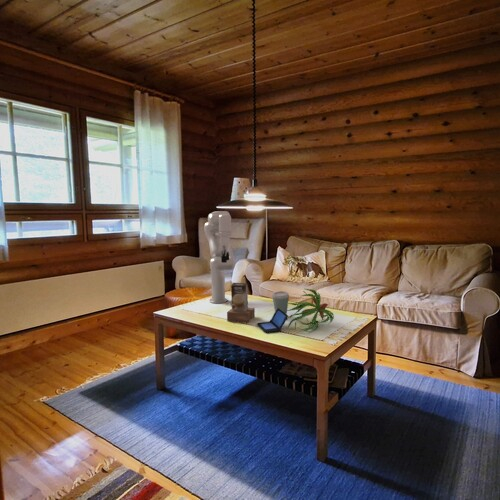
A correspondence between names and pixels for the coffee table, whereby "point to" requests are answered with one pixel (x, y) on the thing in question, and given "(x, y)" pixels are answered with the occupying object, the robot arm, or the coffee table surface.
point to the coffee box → (239, 297)
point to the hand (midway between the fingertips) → (225, 261)
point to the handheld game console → (274, 322)
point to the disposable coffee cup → (281, 301)
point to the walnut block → (241, 315)
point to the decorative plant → (311, 311)
